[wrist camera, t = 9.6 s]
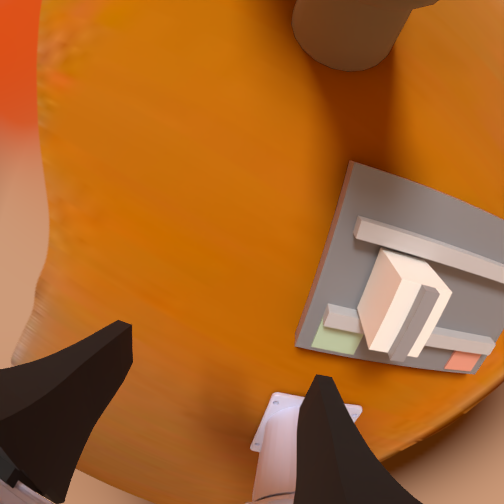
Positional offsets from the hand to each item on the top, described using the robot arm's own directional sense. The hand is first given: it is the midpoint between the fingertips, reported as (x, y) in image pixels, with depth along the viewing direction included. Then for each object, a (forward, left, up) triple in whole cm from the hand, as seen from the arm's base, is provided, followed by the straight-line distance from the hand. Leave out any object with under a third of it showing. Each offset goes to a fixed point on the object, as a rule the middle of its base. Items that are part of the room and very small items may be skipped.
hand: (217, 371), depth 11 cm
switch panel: (+2, -12, -9) cm, 15 cm away
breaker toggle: (+2, -8, -8) cm, 11 cm away
